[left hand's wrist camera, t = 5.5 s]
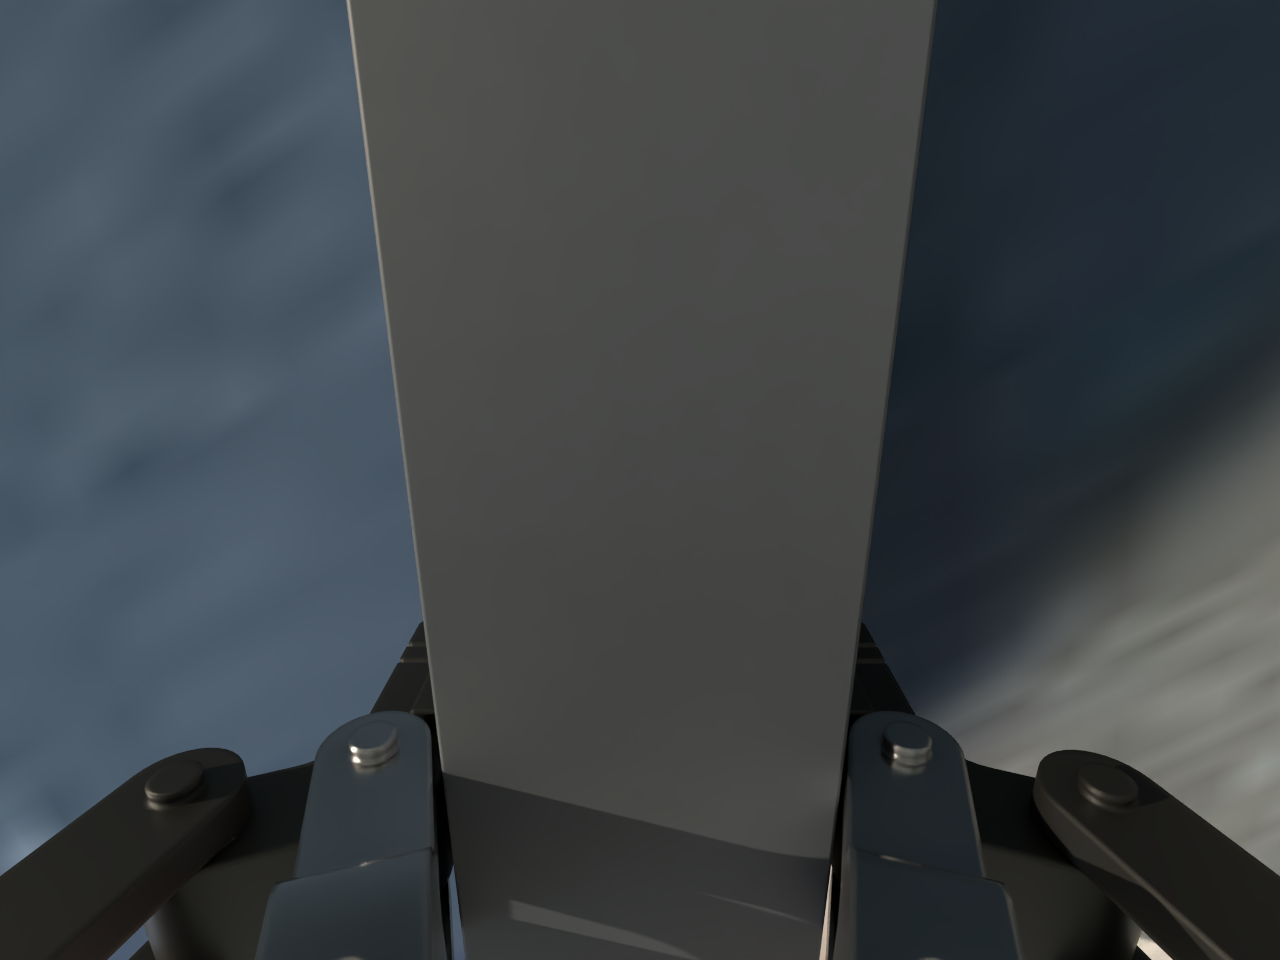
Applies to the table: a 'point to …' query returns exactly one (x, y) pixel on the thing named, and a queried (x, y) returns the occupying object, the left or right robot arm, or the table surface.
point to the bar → (642, 439)
